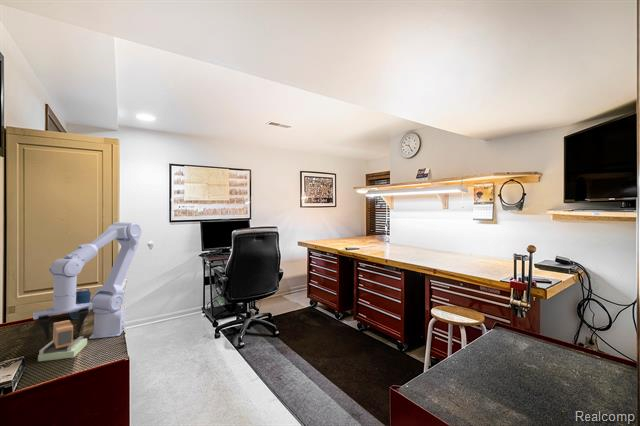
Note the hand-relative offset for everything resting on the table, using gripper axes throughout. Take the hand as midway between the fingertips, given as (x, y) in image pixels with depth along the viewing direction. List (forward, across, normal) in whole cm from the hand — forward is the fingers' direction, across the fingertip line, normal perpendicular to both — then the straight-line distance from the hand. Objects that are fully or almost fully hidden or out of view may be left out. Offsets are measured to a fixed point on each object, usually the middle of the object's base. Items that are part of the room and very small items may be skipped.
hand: (63, 335), depth 94 cm
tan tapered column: (+2, 0, 0) cm, 3 cm away
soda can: (+6, -10, -37) cm, 39 cm away
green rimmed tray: (+6, 0, 0) cm, 6 cm away
